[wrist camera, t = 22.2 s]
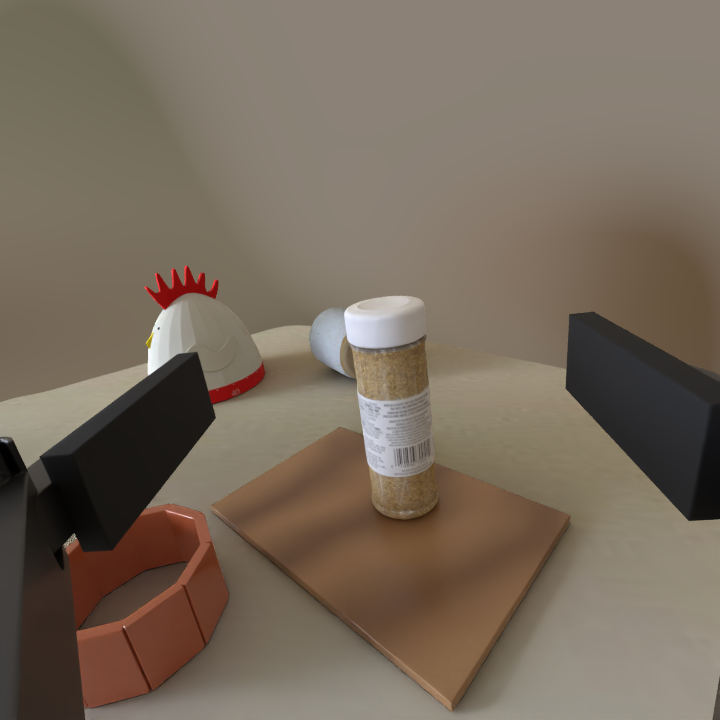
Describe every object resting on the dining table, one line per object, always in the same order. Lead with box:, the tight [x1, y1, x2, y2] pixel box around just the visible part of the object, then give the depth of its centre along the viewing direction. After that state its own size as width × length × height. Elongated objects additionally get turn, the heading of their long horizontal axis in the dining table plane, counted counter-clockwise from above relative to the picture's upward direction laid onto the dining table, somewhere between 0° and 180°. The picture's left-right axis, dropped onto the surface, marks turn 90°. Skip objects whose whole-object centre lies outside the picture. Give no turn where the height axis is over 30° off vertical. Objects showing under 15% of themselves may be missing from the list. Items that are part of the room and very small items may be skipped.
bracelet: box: [65, 504, 229, 708], centre depth 22 cm, size 8×9×4 cm
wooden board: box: [211, 427, 570, 712], centre depth 28 cm, size 20×13×1 cm, turn 46°
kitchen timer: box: [145, 266, 265, 404], centre depth 52 cm, size 14×14×15 cm
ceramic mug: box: [309, 307, 356, 379], centre depth 52 cm, size 11×8×8 cm
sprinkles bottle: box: [344, 296, 439, 520], centre depth 26 cm, size 5×5×14 cm
